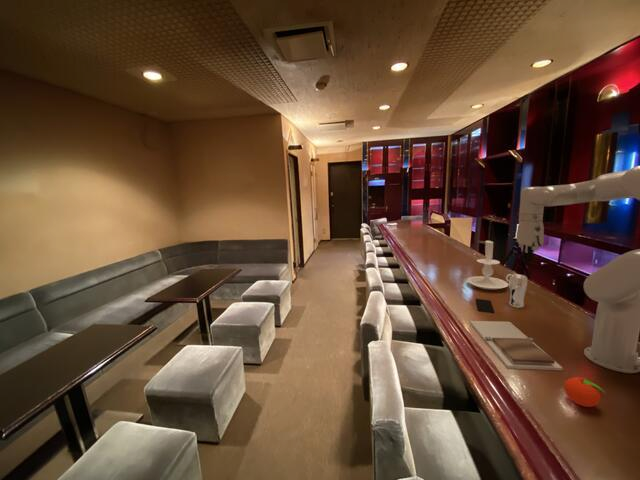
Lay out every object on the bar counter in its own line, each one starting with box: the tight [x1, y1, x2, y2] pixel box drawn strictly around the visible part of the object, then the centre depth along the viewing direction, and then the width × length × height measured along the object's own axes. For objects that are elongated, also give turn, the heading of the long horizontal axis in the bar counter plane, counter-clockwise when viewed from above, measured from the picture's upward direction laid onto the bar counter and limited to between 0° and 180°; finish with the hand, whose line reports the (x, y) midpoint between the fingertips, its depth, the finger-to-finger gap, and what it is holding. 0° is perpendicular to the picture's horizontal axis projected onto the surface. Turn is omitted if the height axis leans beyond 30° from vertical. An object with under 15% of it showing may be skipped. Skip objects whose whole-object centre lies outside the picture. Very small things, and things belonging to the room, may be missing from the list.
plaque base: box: [469, 320, 563, 372], centre depth 99 cm, size 30×16×2 cm, turn 172°
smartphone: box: [475, 298, 495, 314], centre depth 130 cm, size 7×1×15 cm
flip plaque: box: [492, 338, 556, 364], centre depth 92 cm, size 14×12×1 cm
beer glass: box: [508, 273, 528, 309], centre depth 128 cm, size 7×7×15 cm
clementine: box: [563, 376, 607, 408], centre depth 70 cm, size 8×7×7 cm
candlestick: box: [466, 240, 513, 291], centre depth 151 cm, size 21×25×28 cm
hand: (526, 261), depth 109 cm, fingers closed
